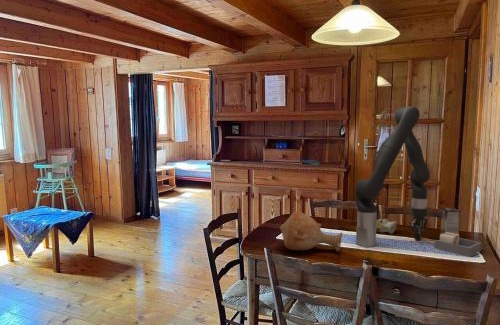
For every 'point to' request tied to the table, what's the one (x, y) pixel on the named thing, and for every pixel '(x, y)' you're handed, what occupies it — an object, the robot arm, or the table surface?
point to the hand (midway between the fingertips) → (418, 238)
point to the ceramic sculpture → (385, 226)
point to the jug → (306, 233)
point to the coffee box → (450, 220)
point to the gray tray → (460, 247)
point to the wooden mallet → (445, 237)
